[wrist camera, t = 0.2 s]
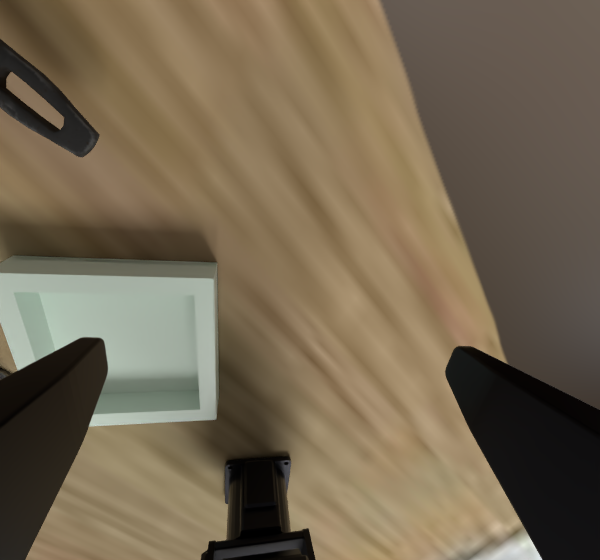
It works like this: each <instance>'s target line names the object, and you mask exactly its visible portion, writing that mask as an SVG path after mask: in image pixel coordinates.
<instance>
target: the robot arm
mask: <svg viewBox="0 0 600 560" xmlns="http://www.w3.org/2000/svg"><path fill="white" fill-rule="evenodd" d="M107 374H108V362H107V355H106V348H105V343H104V340H103V339H102V338H99V337H82V338H79V339H77V340H75V341H73V342H71V343H69V344H68V345H66V346H64V347H62V348H60V349H58V350H56V351H54V352H52V353H50V354H48V355H47V356H45V357H43V358H41V359H39V360H37V361H35V362H33V363H31V364H29V365H27V366H26V367H24V368H22V369H20V370H18V371H16V372H14V373H12V374H10V375H8V376H6V377H5V378H3V379H1V380H0V560H25V559H26V557H27V555H28V553H29V551H30V549H31V546H32V544H33V542H34V540H35V538H36V536H37V534H38V532H39V530H40V528H41V526H42V524H43V522H44V520H45V518H46V516H47V514H48V512H49V510H50V508H51V506H52V504H53V502H54V500H55V498H56V496H57V494H58V492H59V490H60V488H61V486H62V484H63V482H64V480H65V478H66V476H67V474H68V472H69V469H70V467H71V465H72V463H73V461H74V459H75V457H76V455H77V453H78V451H79V449H80V447H81V445H82V442H83V440H84V438H85V435H86V432H87V430H88V427H89V424H90V422H91V419H92V416H93V413H94V411H95V408H96V405H97V402H98V400H99V397H100V394H101V391H102V389H103V386H104V383H105V380H106V377H107ZM445 374H446V378H447V380H448V383H449V385H450V387H451V389H452V392H453V394H454V396H455V398H456V400H457V403H458V405H459V407H460V409H461V412H462V414H463V416H464V418H465V420H466V423H467V425H468V427H469V429H470V431H471V433H472V434H473V436H474V438H475V440H476V442H477V444H478V445H479V447H480V449H481V451H482V452H483V454H484V456H485V458H486V460H487V461H488V463H489V465H490V467H491V469H492V470H493V472H494V474H495V476H496V478H497V479H498V481H499V483H500V485H501V486H502V488H503V490H504V492H505V494H506V495H507V497H508V499H509V501H510V503H511V504H512V506H513V508H514V510H515V511H516V513H517V515H518V517H519V519H520V520H521V522H522V524H523V526H524V528H525V529H526V531H527V533H528V535H529V537H530V538H531V540H532V542H533V544H534V545H535V547H536V549H537V551H538V553H539V554H540V556H541V558H542V560H600V410H599V409H597V408H595V407H593V406H591V405H589V404H587V403H585V402H583V401H581V400H579V399H577V398H575V397H573V396H571V395H569V394H567V393H565V392H563V391H561V390H559V389H557V388H555V387H553V386H551V385H549V384H546V383H545V382H542V381H540V380H538V379H536V378H534V377H532V376H530V375H528V374H526V373H524V372H522V371H520V370H518V369H516V368H514V367H512V366H510V365H508V364H506V363H504V362H502V361H500V360H498V359H496V358H494V357H492V356H490V355H488V354H486V353H484V352H482V351H480V350H478V349H476V348H474V347H471V346H458V347H456V348H455V349H454V350H453V353H452V355H451V357H450V360H449V362H448V364H447V367H446V371H445ZM290 467H291V459H290V457H287V456H286V457H272V458H259V459H246V460H232V461H228V462H226V464H225V503H226V504H228V519H227V539H226V540H225V541H217V542H216V541H209V545H208V549H207V551H206V552H204V553H203V554H202V555H201V560H315V555H314V551H313V546H312V542H311V537H310V533H309V529H308V528H307V529H302V531H294V532H291V529H290V520H289V511H288V501H287V489H288V482H289V475H290Z"/></svg>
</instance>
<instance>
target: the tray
mask: <svg viewBox="0 0 600 560" xmlns="http://www.w3.org/2000/svg"><path fill="white" fill-rule="evenodd" d="M0 323H1V326H2V328H3V331H4V334H5V337H6V339H7V342H8V345H9V348H10V350H11V353H12V356H13V359H14V361H15V364H16V367H17V370H20V369H22V368H24V367H26V366H27V365H29V364H31V363H33V362H35V361H37V360H39V359H41V358H43V357H45V356H47V355H48V354H50V353H52V352H54V351H56V350H58V349H60V348H62V347H64V346H66V345H68V344H69V343H71V342H73V341H75V340H77V339H79V338H82V337H99V338H102V339H103V340H104V343H105V348H106V355H107V362H108V374H107V377H106V380H105V383H104V386H103V389H102V391H101V394H100V397H99V400H98V402H97V405H96V408H95V411H94V413H93V416H92V419H91V422H90V424H89V426H105V425H125V424H144V423H163V422H182V421H202V420H216V418H217V409H218V399H219V358H218V278H217V262H188V261H159V260H131V259H102V258H73V257H44V256H16V255H13V256H11V257H10V258H8V259H6V260H4V261H2V262H1V263H0Z"/></svg>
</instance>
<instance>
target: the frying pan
mask: <svg viewBox="0 0 600 560" xmlns="http://www.w3.org/2000/svg"><path fill="white" fill-rule="evenodd" d="M10 72H13V73H14V74H16V75H17V76H18V77H19V78H21V79H22V80H23V81H24V82H26V83H27V84H28V85H29V86H30V87H31V88H33V89H34V90H35V91H36V92H37V93H38V94H39V95H41V96H42V97H43V98H44V99H45V100H46V101H47V102H48V103H49V104H50V105H52V106H53V107H54V108H55V109H56V110H57V111H58V112H59V113H60V114H61V115H62V116H63V117H64V126H63V127H62V128H61V130H59V129H58V128H57V127H55V126H54V125H53V124H51V123H50V122H48V121H47V120H46V119H44V118H43V117H42V116H40V115H39V114H38V113H36V112H35V111H34V110H33V109H31V108H30V107H29V106H27V105H26V104H25V103H24V102H22V101H21V100H20V99H19V98H18V97H16V96H15V95H14V94H13V93H12V92H10V91H9V90H8V89H7V88H6V78H7V76H8V75H9V73H10ZM0 108H1V109H3V110H4V111H5V112H6V113H7V114H9V115H10V116H12V117H13V118H15V119H16V120H18V121H19V122H20V123H22V124H23V125H25V126H26V127H28V128H30V129H31V130H33V131H35V132H37V133H39V134H40V135H42V136H44V137H46V138H47V139H49V140H51V141H53V142H54V143H56V144H58V145H59V146H61V147H63V148H64V149H66V150H68V151H69V152H71V153H73V154H74V155H76V156H78V157H84V156H85V155H87V154H88V153H89V152H90V151H91V150H92V149H93V148H94V146H95V145H96V143H97V141H98V138H99V134H98V132H97V131H96V130H95V129H94V128H93V127H92V126H91V125H90V124H89V122H88V121H87V120H86V119H85V118H84V117H83V116H82V115H81V114H80V112H79V111H78V110H77V109H76V108H75V107H74V106H73V104H72V103H71V102H70V101H69V100H68V99H67V97H66V96H65V95H64V94H63V93H62V91H61V90H60V89H59V88H58V87H57V86H56V85H55V84H53V83H52V82H51V81H50V80H49V79H48V78H47V77H46V76H45V75H44V74H43V73H42V72H41V71H39V70H38V69H37V68H36V67H34V66H33V65H32V64H31V63H29V62H28V61H27V60H25V59H24V58H23V57H22V56H20V55H19V54H18V53H17V52H16V51H14V50H13V49H12V48H11V47H9V46H8V45H7V44H6V43H5V42H3V41H2V40H1V39H0Z"/></svg>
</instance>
